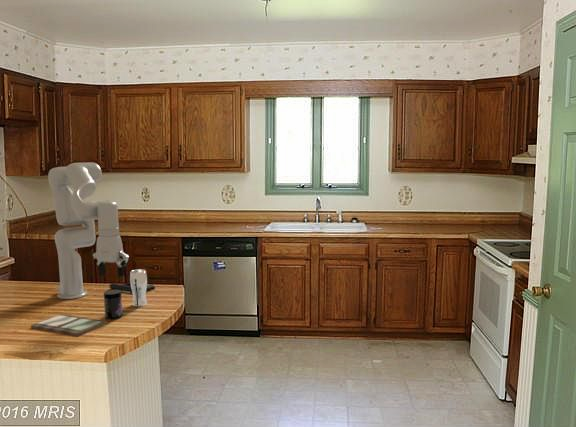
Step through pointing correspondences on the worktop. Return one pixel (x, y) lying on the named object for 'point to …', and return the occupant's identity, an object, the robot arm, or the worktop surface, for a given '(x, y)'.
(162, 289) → the worktop surface
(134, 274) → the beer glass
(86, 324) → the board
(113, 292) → the supplement container
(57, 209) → the robot arm
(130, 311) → the worktop surface
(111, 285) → the door handle
